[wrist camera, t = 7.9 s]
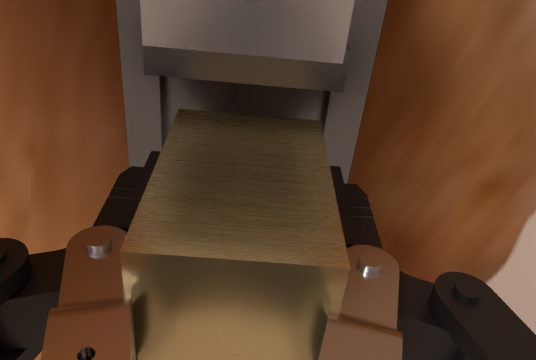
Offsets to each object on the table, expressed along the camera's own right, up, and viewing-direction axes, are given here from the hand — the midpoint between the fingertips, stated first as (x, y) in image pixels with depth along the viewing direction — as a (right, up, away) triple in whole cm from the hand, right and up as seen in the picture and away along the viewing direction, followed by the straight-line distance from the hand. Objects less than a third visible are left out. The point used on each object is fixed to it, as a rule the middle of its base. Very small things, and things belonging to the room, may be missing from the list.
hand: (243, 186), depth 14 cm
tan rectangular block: (0, 0, 0) cm, 1 cm away
